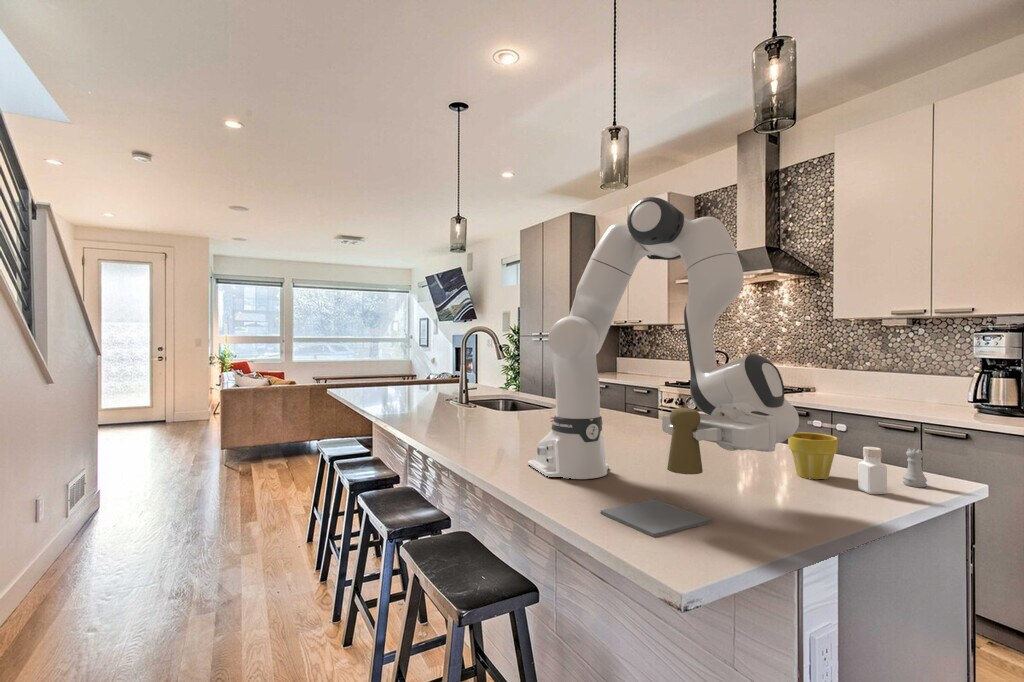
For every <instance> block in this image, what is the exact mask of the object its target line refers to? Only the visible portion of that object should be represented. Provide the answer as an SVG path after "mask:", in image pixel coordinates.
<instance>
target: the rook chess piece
mask: <svg viewBox="0 0 1024 682" xmlns="http://www.w3.org/2000/svg"><path fill="white" fill-rule="evenodd" d="M922 451H923V450H921V449H919V448H918V449H916V448H913V449H912V448H907V451H906V452H905V454H906V456H907V459H906V461H907V469H906V472H905V474H904V475H903V477H902V478H903V480H902V483H903V484H904V485H905V486H907V487H910V488H911V487H912V488H917V489H918V488H921V489H922V488H926V487H928V484H927V482H928V480H927V477H926V476H925V474H924V472H923V467H922V464H923V462H924V461H923V460H922V458H923V457H924V455H925V453H923V452H922Z"/></svg>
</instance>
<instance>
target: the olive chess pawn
mask: <svg viewBox="0 0 1024 682" xmlns="http://www.w3.org/2000/svg"><path fill="white" fill-rule="evenodd" d="M670 413H671V414H670V422H671V424H672V426H673V431H672V435H671V440H670V447H669V452H668V463H667V468H666V469H667V471H668V472H671V473H675V474H680V475H691V476H692V475H699V474H702V473H703V471H704V470H703V465H702V455H701V449H700V448H701V447H700V441H698V440H694V439H693V438H692V430H693V429H697V427H698V426H699V424H700V414H701V413H700V412H699V411H698V410H696V409H693V408H689V407H679V408H678V407H677V408H674V409H672V410H671V412H670Z"/></svg>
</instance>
